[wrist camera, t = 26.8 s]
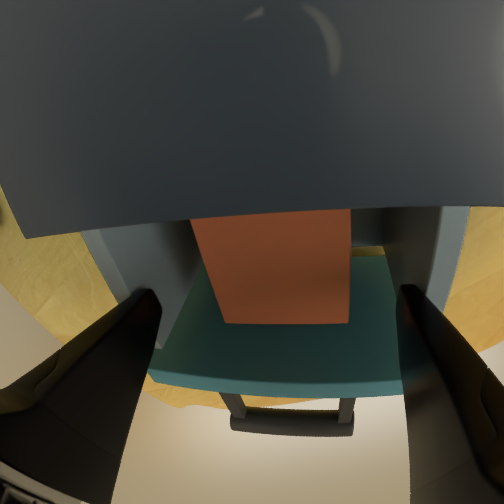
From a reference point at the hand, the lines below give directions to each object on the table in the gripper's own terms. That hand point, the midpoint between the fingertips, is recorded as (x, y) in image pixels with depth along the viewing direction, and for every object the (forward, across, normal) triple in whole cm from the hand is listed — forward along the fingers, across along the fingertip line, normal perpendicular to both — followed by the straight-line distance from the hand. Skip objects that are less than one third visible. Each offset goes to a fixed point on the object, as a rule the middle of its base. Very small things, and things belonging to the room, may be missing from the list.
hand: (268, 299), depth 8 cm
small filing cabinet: (+8, 0, -10) cm, 13 cm away
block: (+6, 0, 0) cm, 6 cm away
